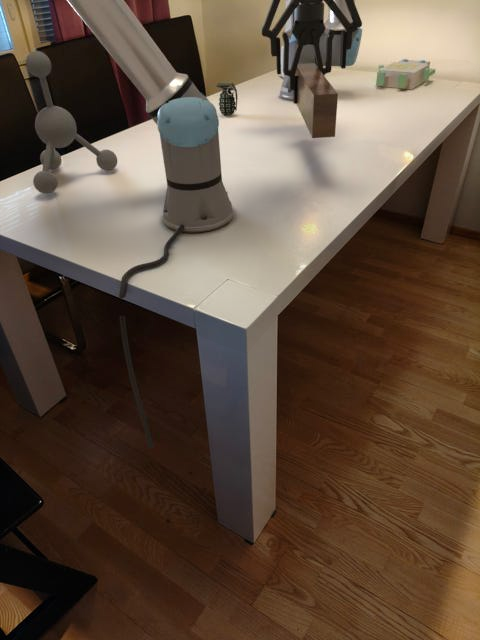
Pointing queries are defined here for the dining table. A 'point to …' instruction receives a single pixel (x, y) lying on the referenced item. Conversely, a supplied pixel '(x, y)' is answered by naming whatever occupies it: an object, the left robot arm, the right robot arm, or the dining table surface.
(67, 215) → the dining table surface
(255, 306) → the dining table surface
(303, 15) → the right robot arm
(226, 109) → the grenade
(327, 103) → the bar
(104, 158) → the molecular model
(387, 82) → the grey box with connectors
